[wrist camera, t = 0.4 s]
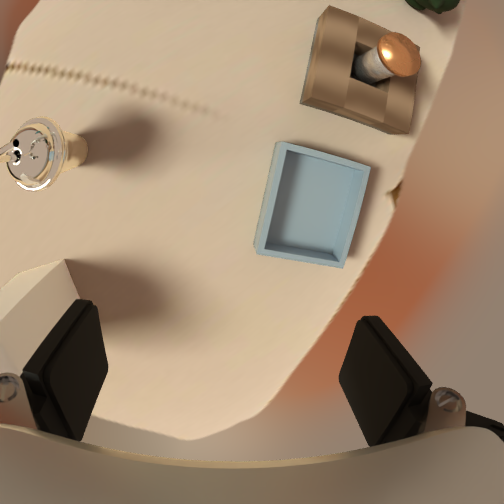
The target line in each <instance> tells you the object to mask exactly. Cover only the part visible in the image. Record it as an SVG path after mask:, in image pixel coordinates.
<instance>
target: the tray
mask: <svg viewBox="0 0 504 504" xmlns="http://www.w3.org/2000/svg"><path fill="white" fill-rule="evenodd" d="M370 169H371V167H369V166H366V165H363V164H360V163H357V162H354V161H351V160H348V159H344V158H341V157H338V156H334V155H331V154H328V153H324V152H320V151H317V150H313V149H309V148H306V147H302V146H298V145H294V144H290V143H286V142H282V141H281V142H276V143H275V148H274V153H273V157H272V162H271V166H270V171H269V175H268V180H267V184H266V189H265V193H264V198H263V203H262V207H261V212H260V216H259V221H258V225H257V230H256V234H255V239H254V244H253V245H254V248H255V251H256V254H259V255H265V256H271V257H277V258H283V259H289V260H295V261H301V262H307V263H313V264H319V265H325V266H331V267H337V268H343V267H344V264H345V261H346V258H347V254H348V251H349V248H350V245H351V241H352V238H353V234H354V231H355V227H356V224H357V220H358V216H359V213H360V209H361V205H362V201H363V198H364V194H365V190H366V186H367V182H368V177H369V173H370Z"/></svg>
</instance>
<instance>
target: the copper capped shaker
mask: <svg viewBox="0 0 504 504" xmlns="http://www.w3.org/2000/svg"><path fill="white" fill-rule="evenodd" d="M420 65H421V58H420V54H419V52H418V49H417V48H416V46H415V45H414V43H413V42H412V41H411V40H410V39H409V38H407V37H406V36H404V35H402V34H400V33H396V32H391V33H388V34H386V35H384V36H383V37H381V38H380V39H379V41H378V44H377V46H376V47H374V48H373V49H371V50H369V51H367V52H366V53H364V54H362V55H361V56H359V57H357V58H356V59H354V60H353V61H352V67H351V73H350V78H353V79H355V80H358V81H361V82H363V83H365V84H368V85H369V84H372V83H374V82H377V81H380V80H382V79H385V78H388V77H391V76H393V75H397V76H400V77H407V76H410V75H413V74H415V73H417V72H418V70H419V69H420Z"/></svg>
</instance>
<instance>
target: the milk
mask: <svg viewBox="0 0 504 504" xmlns="http://www.w3.org/2000/svg"><path fill="white" fill-rule="evenodd" d="M76 299H80V297H79V295H78V293H77V290H76V288H75V285H74V283H73V281H72V278H71V276H70V273H69V271H68V268H67V265H66V263H65V260H64V259H62V260H58V261H55V262H52V263H48V264H45V265H42V266H39V267H35V268H32V269H29V270H26V271H23V272H20V273H18V274H16V275H15V276H14V277H13V278H12V279H11V280H10V281H9V282H8V283H6V284H5V285H4V286H3V287H2V288H1V289H0V374H1V373H6V372H8V373H14V374H16V375H18V376H19V377H20V375H21V374H22V372H23V371H22V369H23V368H24V366H25V365H26V364H27V362H28V361H29V359H30V358H31V356H32V355H33V354H34V352H35V351H36V350H37V348H38V347H39V345H40V344H41V343H42V341H43V340H44V339H45V337H46V336H47V335H48V333H49V332H50V331H51V330H52V328H53V327H54V326H55V324H56V323H57V322H58V321H59V319H60V318H61V317H62V316H63V314H64V313H65V312H66V311H67V309H68V308H69V307H70V306H71V305H72V303H73V302H74V301H75V300H76Z"/></svg>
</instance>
